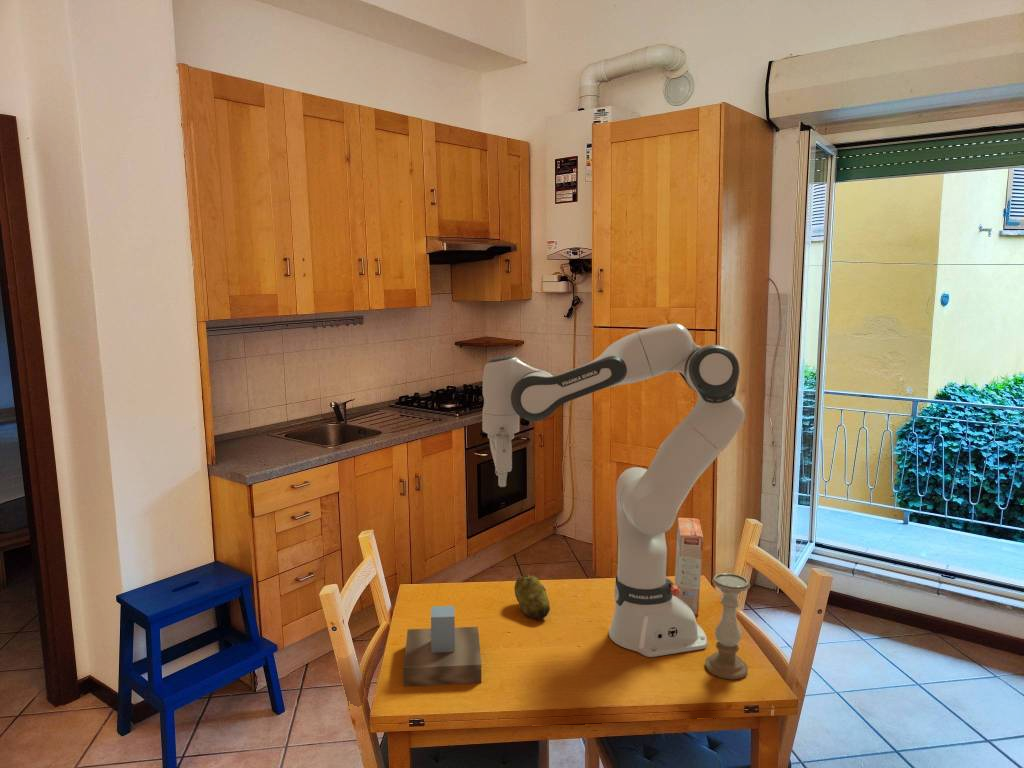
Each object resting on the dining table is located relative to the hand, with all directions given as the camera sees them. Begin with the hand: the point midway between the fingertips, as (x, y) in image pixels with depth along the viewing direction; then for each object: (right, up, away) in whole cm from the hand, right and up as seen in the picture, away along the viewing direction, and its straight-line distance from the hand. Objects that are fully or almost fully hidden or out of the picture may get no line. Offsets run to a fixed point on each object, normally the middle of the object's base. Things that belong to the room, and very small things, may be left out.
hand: (500, 480), depth 167 cm
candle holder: (+49, -39, -17) cm, 65 cm away
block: (-12, -34, -16) cm, 40 cm away
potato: (+8, -35, +9) cm, 36 cm away
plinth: (-12, -38, -16) cm, 43 cm away
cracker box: (+48, -34, +14) cm, 61 cm away
